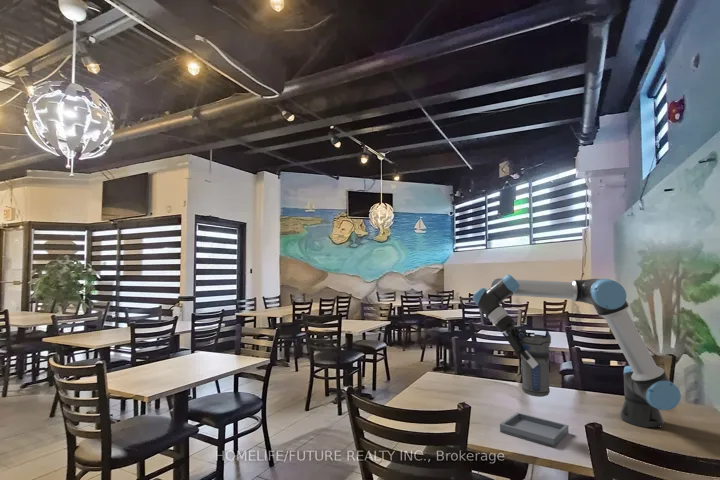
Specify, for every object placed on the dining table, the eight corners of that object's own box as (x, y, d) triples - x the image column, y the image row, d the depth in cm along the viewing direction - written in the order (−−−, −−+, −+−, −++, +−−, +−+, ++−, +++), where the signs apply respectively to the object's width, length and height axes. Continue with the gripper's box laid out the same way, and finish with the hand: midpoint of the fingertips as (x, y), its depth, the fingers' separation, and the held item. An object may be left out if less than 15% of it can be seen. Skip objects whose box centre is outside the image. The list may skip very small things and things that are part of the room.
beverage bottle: (515, 387, 166) (514, 326, 168) (550, 391, 161) (549, 329, 163) (515, 395, 157) (514, 330, 158) (552, 399, 152) (551, 333, 153)
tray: (568, 433, 158) (568, 425, 158) (553, 447, 145) (553, 439, 145) (517, 419, 171) (517, 412, 172) (500, 431, 158) (499, 423, 158)
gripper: (506, 323, 180) (543, 364, 168) (483, 328, 163) (523, 374, 151) (518, 312, 176) (556, 354, 165) (496, 316, 160) (537, 363, 148)
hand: (540, 364), depth 158 cm, fingers closed on beverage bottle, 10 cm apart
